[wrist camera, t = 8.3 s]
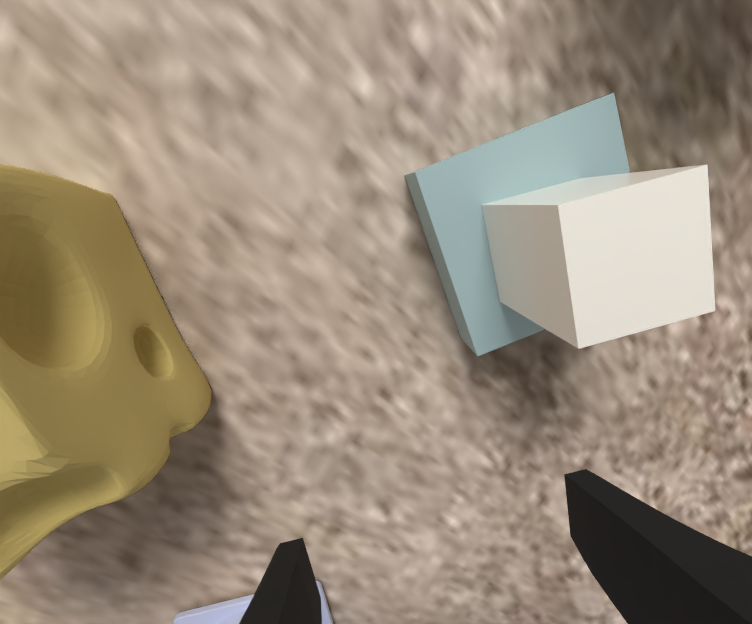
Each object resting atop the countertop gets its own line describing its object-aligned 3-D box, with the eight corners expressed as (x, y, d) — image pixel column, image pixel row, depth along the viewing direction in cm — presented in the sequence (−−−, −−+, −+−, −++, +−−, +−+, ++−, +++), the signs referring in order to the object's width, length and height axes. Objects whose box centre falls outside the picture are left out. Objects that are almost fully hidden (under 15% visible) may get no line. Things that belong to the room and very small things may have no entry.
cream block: (592, 276, 18) (715, 310, 12) (499, 301, 18) (578, 348, 12) (579, 178, 17) (707, 164, 11) (481, 204, 17) (557, 205, 11)
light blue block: (609, 274, 21) (653, 287, 18) (458, 334, 21) (477, 356, 18) (571, 108, 19) (613, 92, 16) (402, 175, 19) (414, 172, 16)
